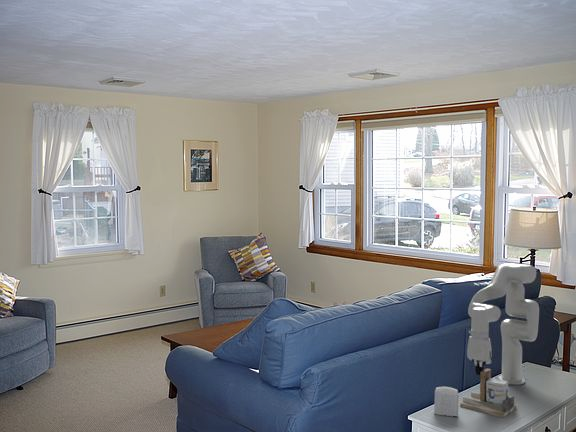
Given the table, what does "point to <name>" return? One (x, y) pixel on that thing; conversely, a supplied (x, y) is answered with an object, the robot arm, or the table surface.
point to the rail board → (488, 405)
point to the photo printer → (446, 401)
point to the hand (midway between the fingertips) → (479, 374)
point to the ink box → (496, 391)
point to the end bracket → (484, 383)
